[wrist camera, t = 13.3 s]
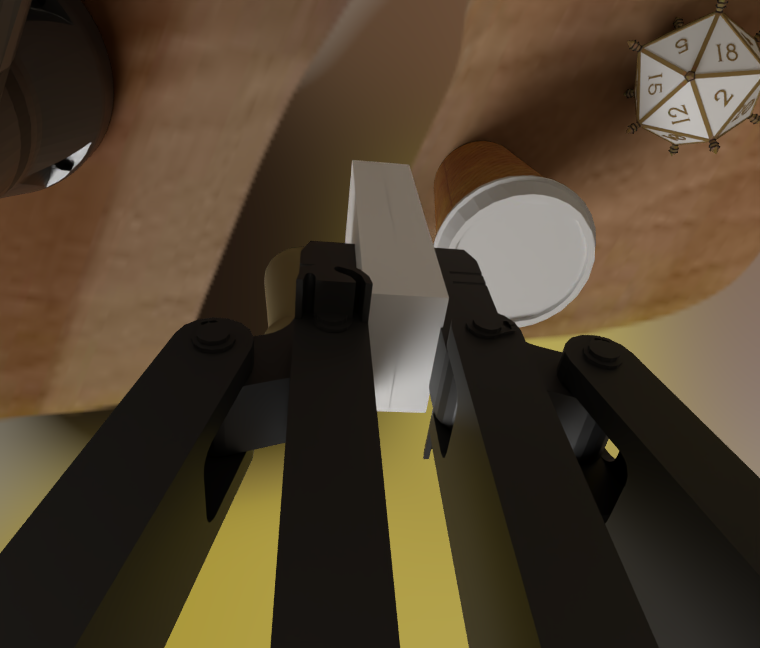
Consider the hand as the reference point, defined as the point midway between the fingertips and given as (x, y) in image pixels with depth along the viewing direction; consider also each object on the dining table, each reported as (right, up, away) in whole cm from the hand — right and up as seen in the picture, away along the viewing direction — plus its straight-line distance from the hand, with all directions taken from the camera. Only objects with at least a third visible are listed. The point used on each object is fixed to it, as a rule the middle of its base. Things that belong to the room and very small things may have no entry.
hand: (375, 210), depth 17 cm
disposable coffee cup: (+7, +7, +28) cm, 30 cm away
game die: (+19, +14, +24) cm, 34 cm away
